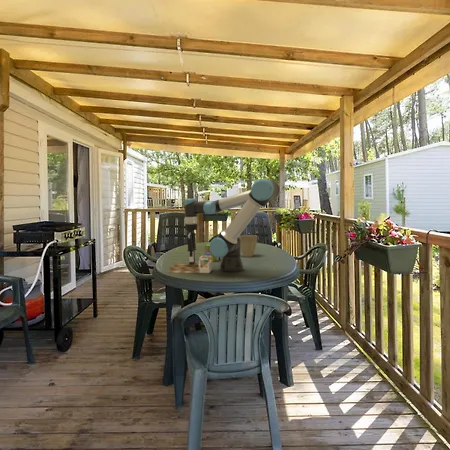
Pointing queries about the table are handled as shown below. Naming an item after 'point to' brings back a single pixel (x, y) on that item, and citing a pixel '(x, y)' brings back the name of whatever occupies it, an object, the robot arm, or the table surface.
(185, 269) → the tray
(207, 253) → the chalk box
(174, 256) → the table surface
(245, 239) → the plant pot
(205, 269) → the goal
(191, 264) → the sled
